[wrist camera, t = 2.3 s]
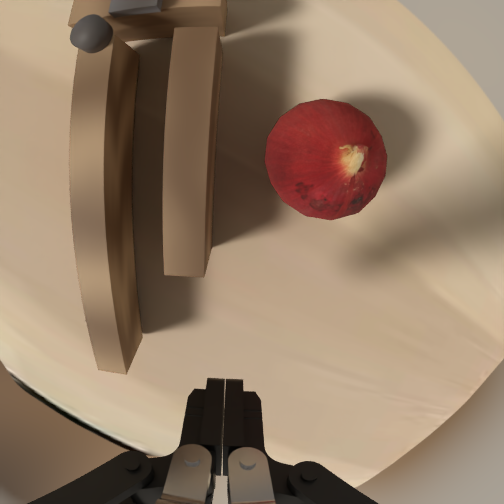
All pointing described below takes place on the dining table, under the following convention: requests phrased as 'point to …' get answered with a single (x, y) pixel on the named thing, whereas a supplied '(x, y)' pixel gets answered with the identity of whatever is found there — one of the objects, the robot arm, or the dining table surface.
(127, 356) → the bar
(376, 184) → the onion
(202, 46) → the wooden hinge stand
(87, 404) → the dining table surface
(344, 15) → the dining table surface
